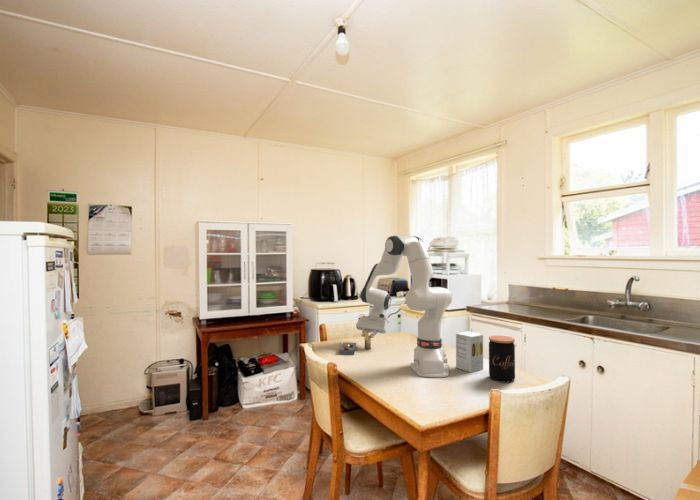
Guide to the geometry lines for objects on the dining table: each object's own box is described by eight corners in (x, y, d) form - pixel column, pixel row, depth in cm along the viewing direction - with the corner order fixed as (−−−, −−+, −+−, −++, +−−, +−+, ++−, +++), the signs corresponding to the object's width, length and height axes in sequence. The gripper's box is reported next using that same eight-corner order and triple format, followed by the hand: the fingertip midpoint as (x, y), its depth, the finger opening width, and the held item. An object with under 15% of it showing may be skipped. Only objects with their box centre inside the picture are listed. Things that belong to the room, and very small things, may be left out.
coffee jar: (490, 381, 153) (489, 340, 153) (488, 373, 163) (487, 334, 163) (517, 384, 150) (516, 341, 150) (513, 375, 160) (512, 336, 160)
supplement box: (471, 373, 164) (470, 336, 164) (455, 367, 172) (455, 333, 172) (484, 369, 169) (483, 334, 169) (468, 364, 177) (467, 330, 177)
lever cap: (370, 350, 204) (370, 332, 204) (364, 350, 204) (364, 332, 204) (370, 348, 207) (370, 331, 207) (364, 348, 207) (364, 331, 208)
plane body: (353, 354, 194) (353, 345, 194) (339, 354, 195) (339, 345, 195) (356, 347, 210) (356, 338, 210) (343, 346, 211) (342, 338, 211)
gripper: (359, 312, 217) (350, 331, 209) (388, 315, 205) (379, 335, 197) (363, 318, 221) (354, 337, 213) (392, 322, 209) (383, 342, 201)
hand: (367, 336), depth 205 cm, fingers open, 4 cm apart
